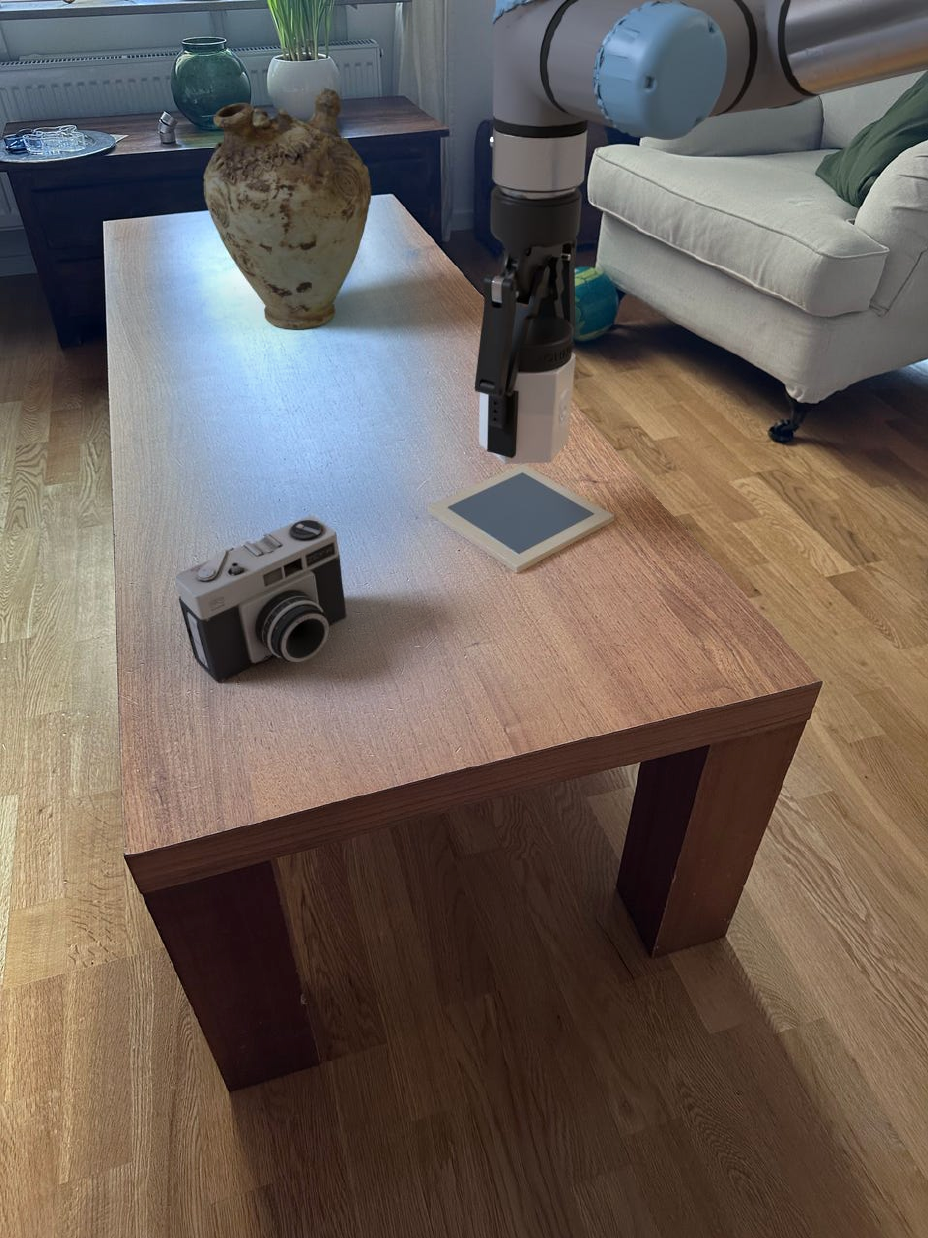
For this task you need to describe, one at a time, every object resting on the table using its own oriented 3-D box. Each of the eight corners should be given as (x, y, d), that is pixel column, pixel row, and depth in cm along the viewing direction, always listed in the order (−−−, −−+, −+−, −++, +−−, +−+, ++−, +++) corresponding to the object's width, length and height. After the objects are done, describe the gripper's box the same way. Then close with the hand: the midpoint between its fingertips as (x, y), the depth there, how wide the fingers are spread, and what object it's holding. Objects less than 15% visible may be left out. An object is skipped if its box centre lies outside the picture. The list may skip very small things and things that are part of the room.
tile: (613, 521, 93) (614, 514, 93) (516, 573, 86) (517, 566, 86) (522, 469, 101) (523, 462, 101) (427, 513, 94) (427, 505, 94)
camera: (226, 710, 72) (201, 613, 66) (188, 651, 78) (162, 557, 72) (375, 647, 78) (365, 553, 72) (328, 597, 84) (316, 506, 78)
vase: (403, 331, 129) (367, 96, 109) (243, 361, 126) (178, 127, 107) (378, 280, 146) (344, 70, 127) (238, 306, 144) (181, 96, 124)
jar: (544, 474, 84) (552, 354, 76) (467, 455, 87) (468, 336, 79) (578, 433, 90) (589, 318, 82) (505, 416, 93) (509, 303, 85)
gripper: (551, 152, 81) (537, 381, 96) (429, 213, 67) (435, 471, 82) (628, 162, 78) (601, 396, 93) (517, 228, 64) (507, 493, 79)
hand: (524, 431), depth 87 cm, fingers closed on jar, 9 cm apart
